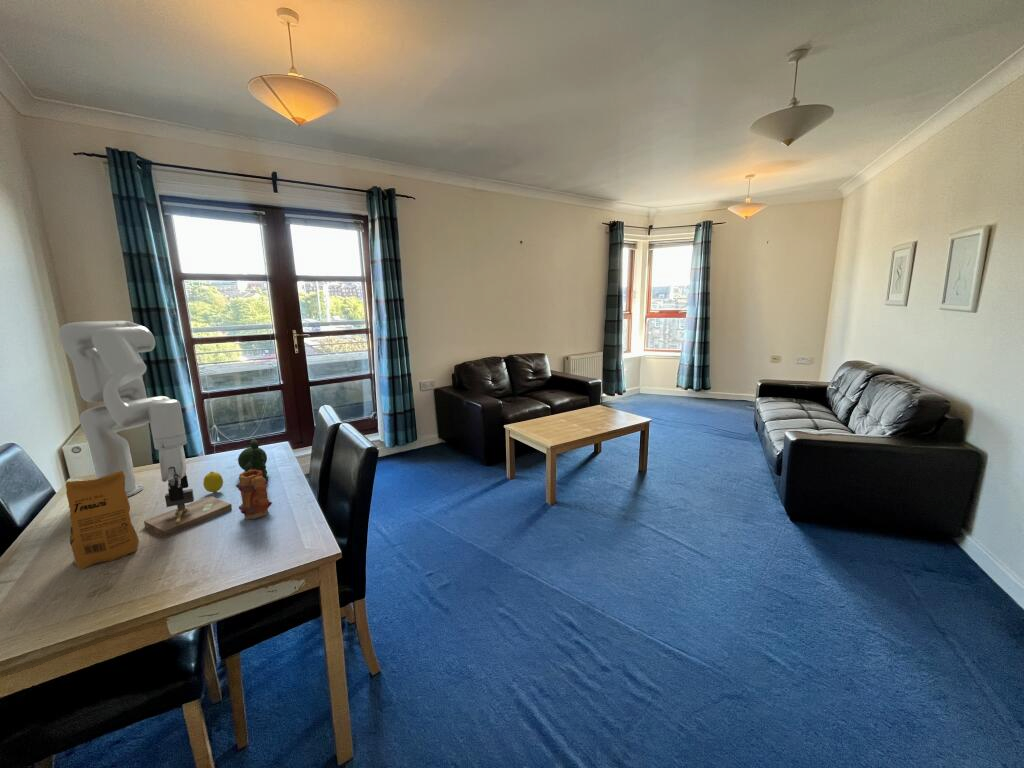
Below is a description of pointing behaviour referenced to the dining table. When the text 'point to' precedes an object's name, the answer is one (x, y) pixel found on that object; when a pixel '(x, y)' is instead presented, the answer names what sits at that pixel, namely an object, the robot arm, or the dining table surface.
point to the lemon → (213, 482)
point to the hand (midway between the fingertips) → (179, 494)
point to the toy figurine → (253, 459)
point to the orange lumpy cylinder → (253, 494)
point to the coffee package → (100, 520)
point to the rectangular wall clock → (187, 516)
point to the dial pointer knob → (180, 502)
